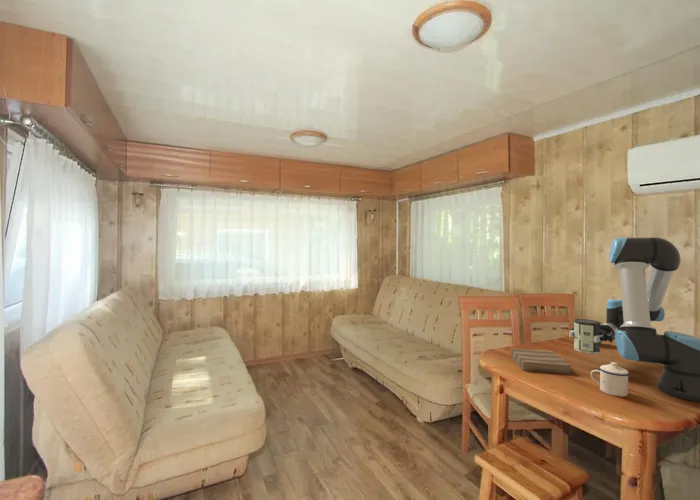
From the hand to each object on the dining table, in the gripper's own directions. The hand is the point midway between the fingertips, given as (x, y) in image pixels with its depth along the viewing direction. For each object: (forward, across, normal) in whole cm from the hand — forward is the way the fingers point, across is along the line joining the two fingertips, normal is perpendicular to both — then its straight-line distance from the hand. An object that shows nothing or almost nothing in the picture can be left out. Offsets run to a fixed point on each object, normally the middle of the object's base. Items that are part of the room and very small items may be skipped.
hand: (582, 336), depth 153 cm
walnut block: (+12, +13, -15) cm, 24 cm away
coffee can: (-4, 0, -7) cm, 8 cm away
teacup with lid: (+16, -18, -16) cm, 29 cm away
